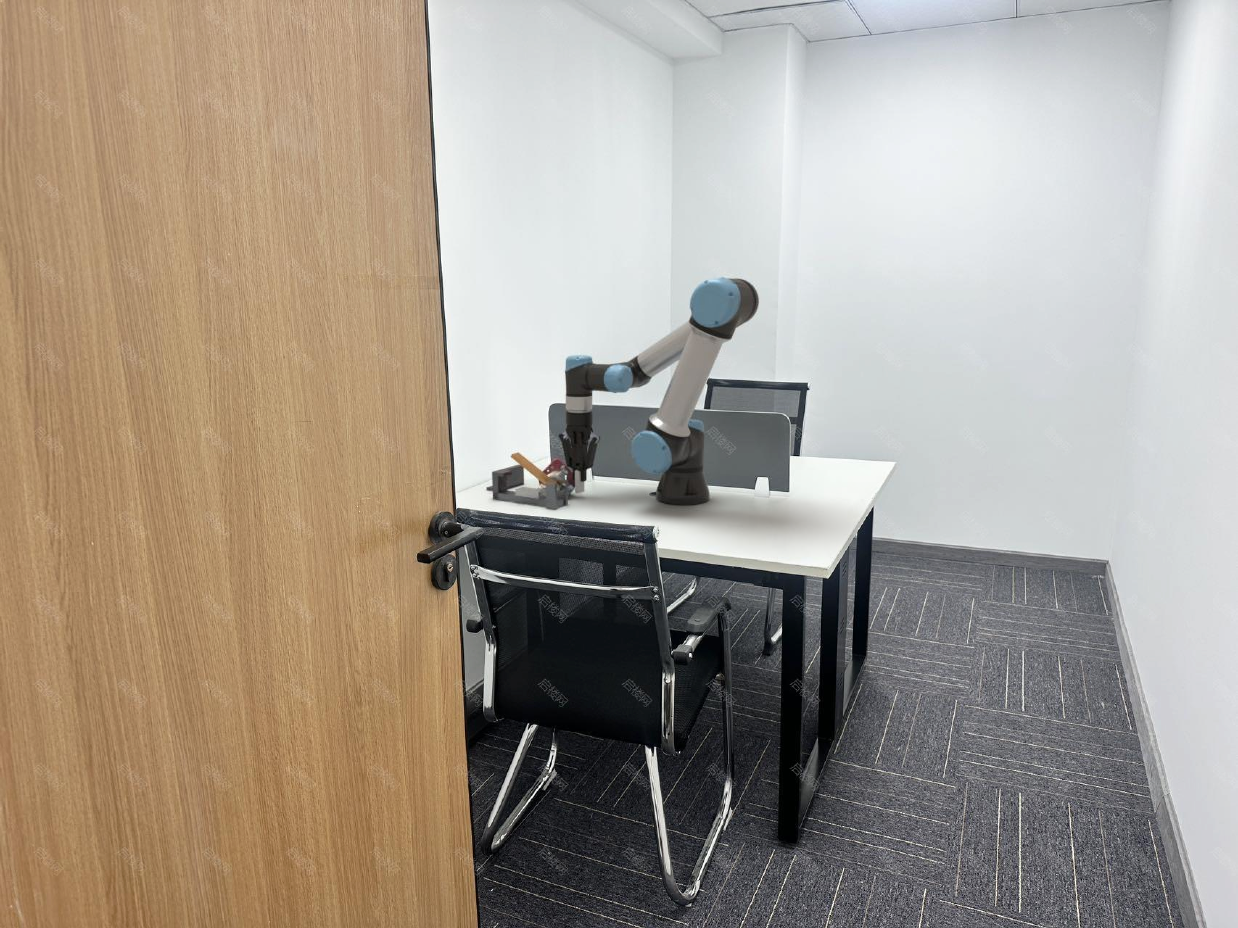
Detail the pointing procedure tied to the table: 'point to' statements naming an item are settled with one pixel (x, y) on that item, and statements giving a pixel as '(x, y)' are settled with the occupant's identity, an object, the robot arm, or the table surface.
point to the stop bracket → (513, 477)
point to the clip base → (545, 501)
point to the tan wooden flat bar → (534, 470)
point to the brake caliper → (559, 474)
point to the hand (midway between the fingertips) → (579, 492)
